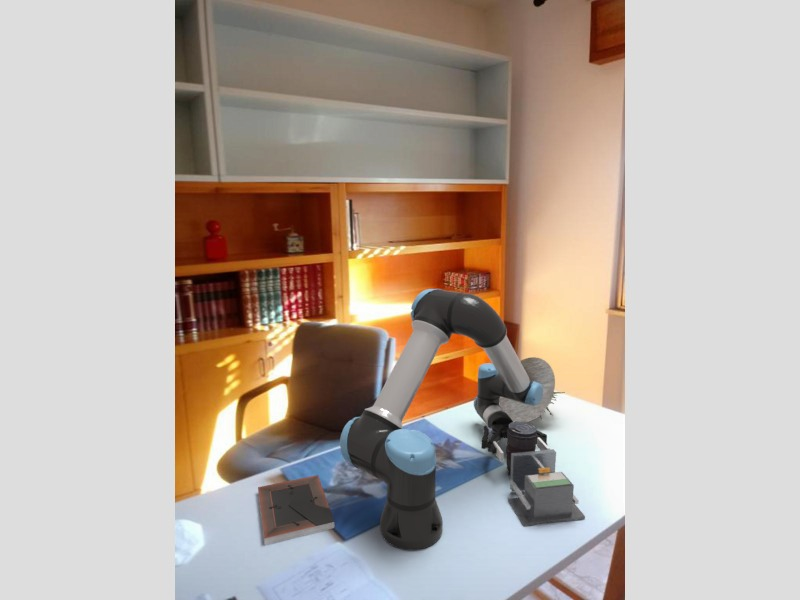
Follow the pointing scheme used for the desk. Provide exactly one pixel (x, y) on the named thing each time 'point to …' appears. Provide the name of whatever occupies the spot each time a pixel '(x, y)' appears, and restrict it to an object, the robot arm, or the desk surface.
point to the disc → (545, 376)
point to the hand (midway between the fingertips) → (525, 455)
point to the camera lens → (519, 440)
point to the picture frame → (294, 509)
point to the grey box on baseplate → (547, 500)
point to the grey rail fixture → (531, 469)
